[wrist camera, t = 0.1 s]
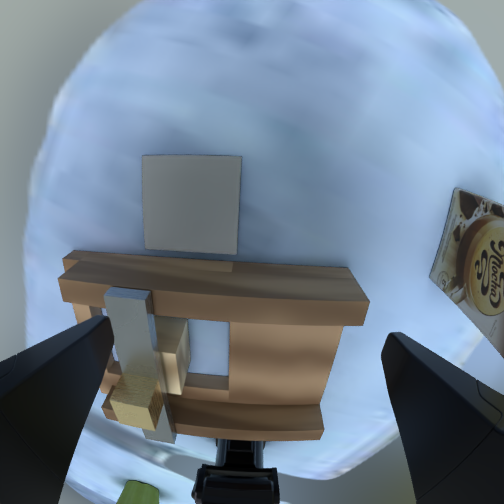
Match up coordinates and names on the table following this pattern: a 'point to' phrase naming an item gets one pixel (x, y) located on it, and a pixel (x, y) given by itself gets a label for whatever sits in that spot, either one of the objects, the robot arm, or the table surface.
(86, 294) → the puzzle board
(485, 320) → the coffee box
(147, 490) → the plant pot
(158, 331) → the beech block
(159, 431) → the latch bar
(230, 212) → the slate mat
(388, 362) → the robot arm
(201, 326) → the table surface
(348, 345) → the table surface
